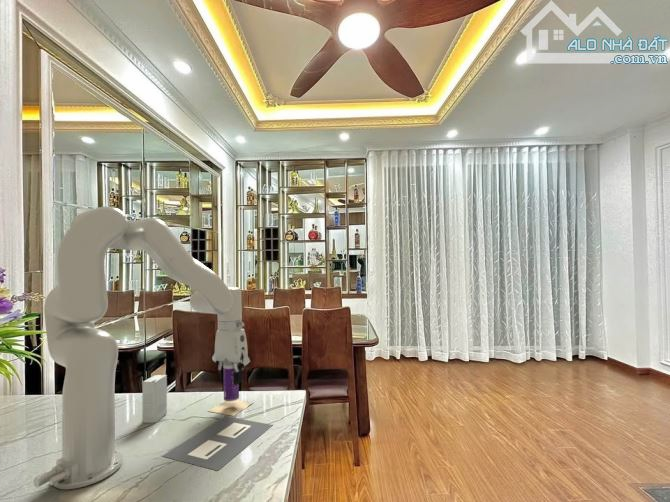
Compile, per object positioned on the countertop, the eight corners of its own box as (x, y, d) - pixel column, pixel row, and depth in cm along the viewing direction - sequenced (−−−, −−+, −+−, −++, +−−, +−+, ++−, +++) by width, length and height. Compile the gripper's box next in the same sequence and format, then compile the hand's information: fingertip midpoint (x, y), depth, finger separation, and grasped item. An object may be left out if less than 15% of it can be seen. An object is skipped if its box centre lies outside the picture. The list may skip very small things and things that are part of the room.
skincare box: (154, 413, 103) (153, 374, 104) (167, 413, 103) (167, 374, 103) (141, 423, 97) (141, 381, 97) (156, 423, 97) (155, 381, 97)
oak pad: (233, 416, 100) (233, 415, 100) (207, 411, 104) (207, 411, 104) (253, 402, 109) (253, 402, 109) (229, 399, 113) (229, 398, 113)
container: (234, 401, 104) (233, 353, 104) (220, 401, 105) (220, 353, 105) (241, 395, 108) (240, 349, 109) (228, 395, 109) (227, 349, 110)
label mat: (217, 470, 73) (217, 470, 73) (161, 456, 80) (161, 455, 80) (272, 425, 93) (272, 424, 93) (224, 416, 100) (224, 415, 100)
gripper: (258, 324, 108) (260, 381, 107) (217, 322, 114) (218, 376, 113) (244, 329, 101) (245, 389, 100) (201, 326, 107) (202, 383, 106)
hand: (231, 381), depth 107 cm, fingers closed on container, 4 cm apart
